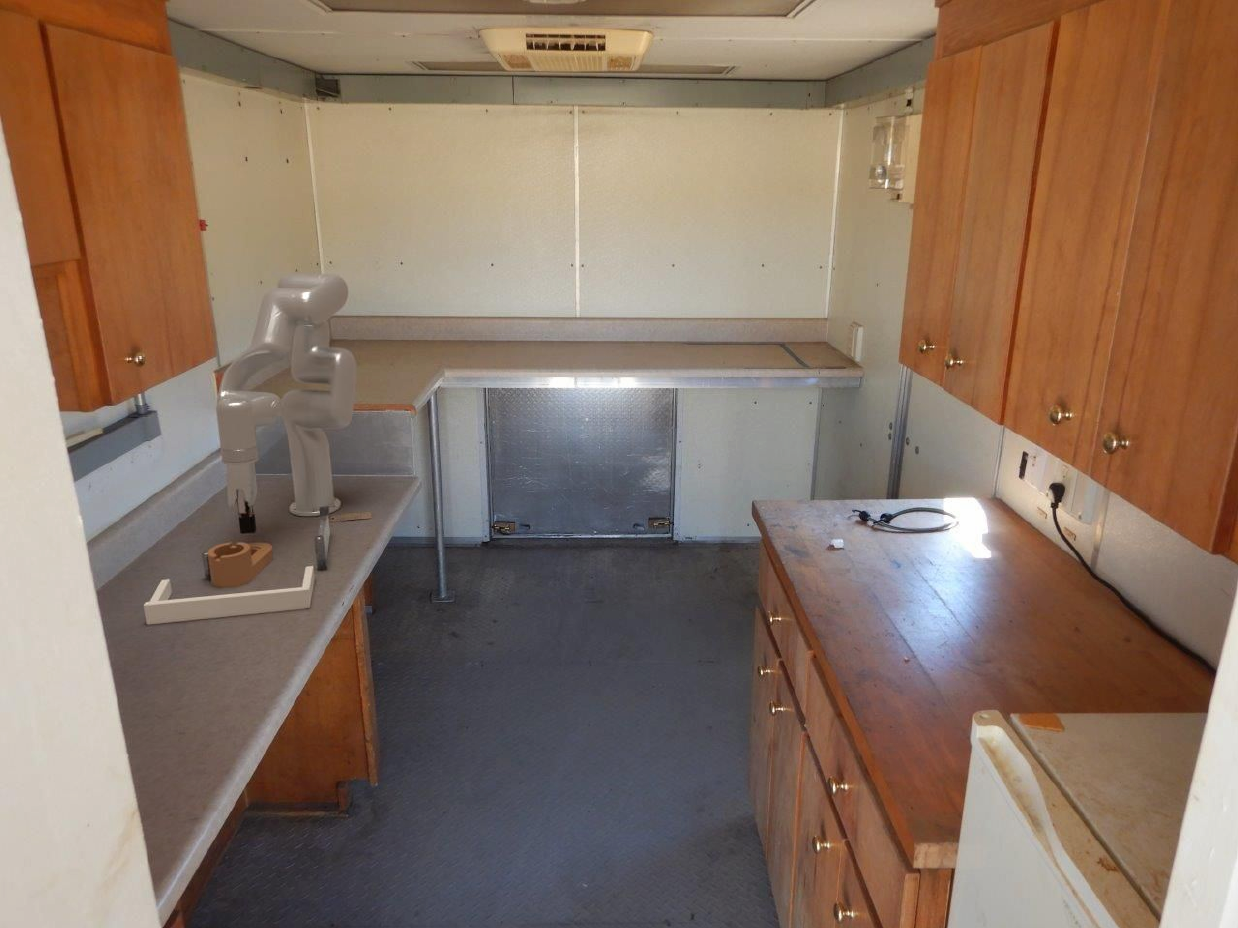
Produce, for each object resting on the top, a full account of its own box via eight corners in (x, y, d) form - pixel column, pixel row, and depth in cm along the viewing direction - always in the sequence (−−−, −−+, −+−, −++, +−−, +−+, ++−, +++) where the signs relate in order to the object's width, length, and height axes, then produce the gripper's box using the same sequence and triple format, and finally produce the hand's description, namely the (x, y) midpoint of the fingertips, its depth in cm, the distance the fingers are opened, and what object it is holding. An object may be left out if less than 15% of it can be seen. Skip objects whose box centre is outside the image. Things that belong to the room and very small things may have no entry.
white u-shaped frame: (163, 593, 180) (160, 575, 178) (314, 578, 187) (312, 561, 185) (147, 624, 167) (143, 605, 165) (309, 607, 174) (307, 589, 173)
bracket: (243, 588, 182) (239, 558, 180) (204, 587, 183) (199, 556, 181) (279, 554, 200) (275, 526, 198) (243, 553, 200) (240, 525, 198)
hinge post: (317, 567, 192) (314, 535, 190) (327, 566, 193) (324, 535, 190) (317, 571, 190) (313, 539, 188) (326, 570, 191) (323, 538, 189)
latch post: (206, 577, 187) (202, 551, 185) (214, 576, 187) (210, 550, 186) (204, 580, 186) (200, 554, 184) (212, 579, 186) (209, 553, 184)
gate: (327, 564, 194) (324, 532, 191) (318, 565, 193) (314, 533, 191) (331, 535, 210) (328, 505, 208) (323, 535, 210) (320, 506, 208)
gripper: (227, 446, 199) (235, 522, 204) (215, 464, 186) (225, 545, 191) (262, 445, 201) (269, 520, 206) (253, 462, 187) (261, 542, 192)
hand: (248, 531), depth 198 cm, fingers closed
